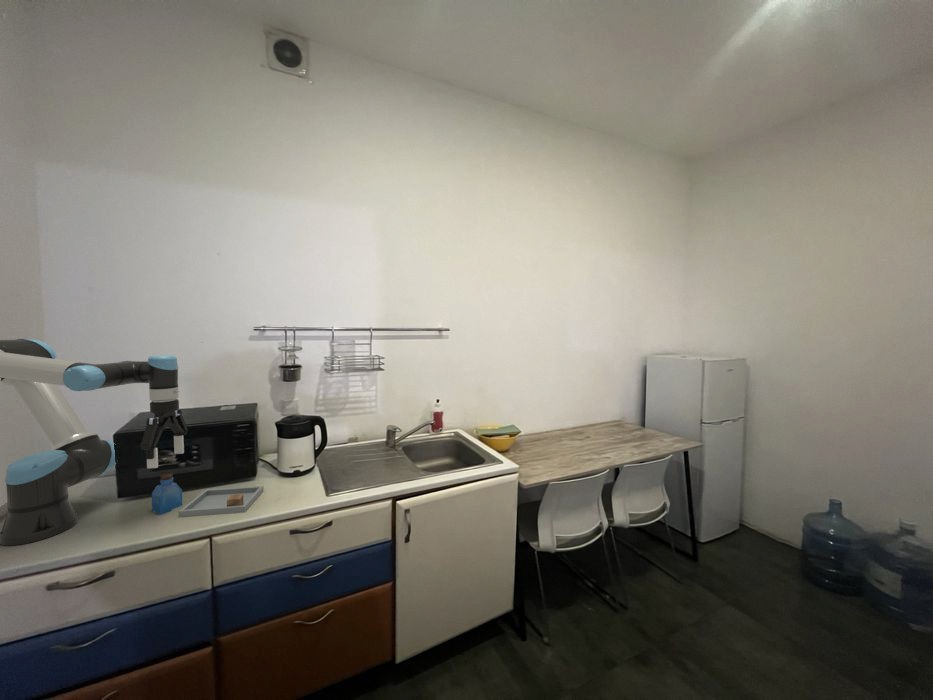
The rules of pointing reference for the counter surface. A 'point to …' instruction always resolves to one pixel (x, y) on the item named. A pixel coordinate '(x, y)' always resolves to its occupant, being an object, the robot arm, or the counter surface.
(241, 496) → the walnut block
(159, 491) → the perfume bottle
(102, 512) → the counter surface
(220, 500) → the tray
